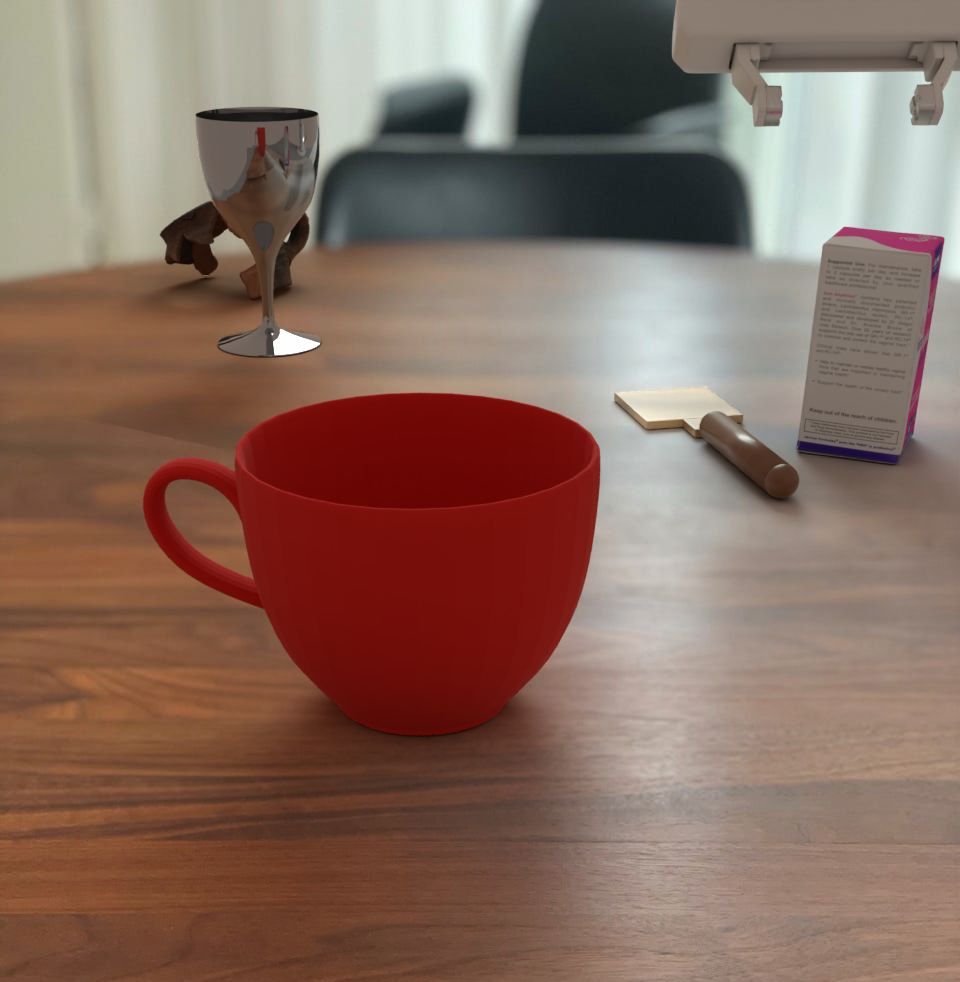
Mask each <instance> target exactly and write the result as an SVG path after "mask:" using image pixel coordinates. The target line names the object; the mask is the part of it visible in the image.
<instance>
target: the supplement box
mask: <svg viewBox="0 0 960 982" xmlns="http://www.w3.org/2000/svg"><path fill="white" fill-rule="evenodd" d="M944 245H945V237H944V236H940V235H932V234H924V233H912V232H910V233H909V232H900V231H889V230H880V229H871V228H863V227H855V226H854V227H853V226H843V227H841V228H840V229H839V231H837V232H835V234H833V235H832V236H831V237H830V238H829V239H828V240H827V241H826V242H824V243H823V244H822V246H821V256H820V264H819V272H818V277H817V278H818V279H817V288H816V294H815V303H814V309H813V310H814V311H813V317H812V318H813V319H812V327H811V333H810V334H811V336H810V342H809V351H808V356H807V357H808V358H807V364H806V365H807V366H806V375H805V382H804V391H803V397H802V405H801V413H800V421H799V427H798V434H797V442H796V446H795V451H797V452H801V453H807V454H814V455H821V456H831V457H837V458H847V459H851V460H859V461H865V462H866V461H867V462H874V463H882V464H891V465H895V464H899V462H900V459H901V456H902V454H903V452H904V450H905V448H906V446H907V445H908V443H909V441H910V440H911V439H912V437H913V435H914V431H915V425H916V419H917V412H918V407H919V400H920V395H921V394H920V393H921V388H922V383H923V377H924V371H925V364H926V358H927V351H928V345H929V339H930V333H931V325H932V319H933V314H934V313H933V312H934V308H935V301H936V295H937V289H938V281H939V275H940V270H941V263H942V257H943V252H944Z"/></svg>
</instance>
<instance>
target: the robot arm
mask: <svg viewBox="0 0 960 982" xmlns="http://www.w3.org/2000/svg"><path fill="white" fill-rule="evenodd" d="M671 36H672V37H671V58H672V59H671V60H672V61H673V62H674V63H675V64H676V65H677V66H678V67H679V68H680V69H681V71H683V72H684V73H687V74H731V85H732V86H733V87H734V88H735V89H736V91H737V92H738V93H739V94H740V96H742V97H743V99H744V100H745V101H746V102H747V103H748V105H749V106H751V108H752V122H753V127H754V128H759V127H760V128H763V127H765V128H767V127H779V126H780V125H781V118H782V117H783V112H784V111H783V110H784V101H783V100H782V97H783V90H782V89H783V88H782V85H769V84H768V83H767V82H766V80H765V78H764V77H763V76H762V74H775V73H776V74H777V73H778V74H780V73H781V74H783V73H785V74H786V73H789V74H791V73H792V74H795V73H797V74H798V73H891V72H892V73H899V72H900V73H904V72H906V73H908V72H912V73H914V72H917V73H919V72H923V76H924V81H925V82H926V83H925V84H916V85H915V89H914V91H913V94H914V95H913V96H912V97H911V99H910V102H909V104H908V106H909V113H910V115H911V118H910V123H911V125H912V126H923V127H924V126H938V125H939V123H940V120H941V118H942V116H943V113H944V107H945V102H944V94H943V93H944V92H943V91H944V90H945V88H946V86H947V84H948V83H949V81H950V79H951V75H952V73H953V72H960V0H676V2H675V8H674V15H673V25H672V35H671Z"/></svg>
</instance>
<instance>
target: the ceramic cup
mask: <svg viewBox="0 0 960 982" xmlns="http://www.w3.org/2000/svg"><path fill="white" fill-rule="evenodd" d="M234 451H235V453H234V470H233V469H231V468H230V467H227V466H225V465H224V464H221V463H219V462H217V461H214V460H210V459H207V458H202V457H194V456H193V457H192V456H190V457H188V456H187V457H186V456H185V457H178V458H175V459H171V460H169V461H167V462H165V463H163V464H162V465H161V466H159V467H158V468H157V469H156V470H155V471H154V472H153V474H151V476H150V478H149V479H148V481H147V483H146V485H145V487H144V492H143V497H142V511H143V517H144V520H145V523H146V525H147V529H148V530H149V532H150V534H151V537H152V539H154V541H155V543H156V544H157V546H158V547H159V548H160V550H161V551H162V552H163V553H164V555H165V556H166V557H167V558H168V559H169V560H170V561H171V562H172V563H173V564H174V565H175V566H176V567H177V568H179V569H180V570H181V571H183V572H184V573H185V574H186V575H188V576H190V577H191V578H192V579H194V580H196V581H197V582H199V583H200V584H203V585H204V586H206V587H208V588H210V589H212V590H214V591H217V592H219V593H221V594H223V595H225V596H228V597H230V598H233V599H235V600H238V601H241V602H243V603H245V604H249V605H251V606H254V607H257V608H259V609H262V610H264V612H265V614H266V616H267V618H268V621H269V623H270V624H271V627H272V628H273V631H274V633H275V635H276V637H277V639H278V641H279V643H280V644H281V646H282V648H283V649H284V651H285V652H286V653H287V655H288V656H289V658H290V659H291V660H292V662H293V663H294V664H295V666H297V667H298V669H299V670H300V671H301V672H302V673H303V674H304V675H305V677H307V679H308V680H309V681H311V682H312V684H314V686H316V687H317V688H318V689H319V691H321V692H322V693H323V694H324V695H325V696H326V697H327V698H329V699H330V700H331V701H332V702H333V703H335V704H336V705H337V706H338V708H339V710H340V711H342V713H343V714H345V716H346V717H347V718H349V719H350V720H353V721H354V722H356V723H357V724H360V725H361V726H364V727H366V728H369V729H371V730H375V731H379V732H384V733H387V734H388V733H389V734H396V735H401V736H402V735H403V736H419V735H420V736H419V737H421V736H422V737H423V736H439V735H447V734H452V733H457V732H461V731H465V730H469V729H473V728H475V727H477V726H479V725H482V724H485V723H487V721H490V720H491V719H492V718H495V717H496V716H497V715H498V714H499V713H501V711H502V710H503V709H505V707H506V705H507V703H508V702H509V701H510V700H511V699H512V698H513V697H515V696H516V695H517V694H518V693H519V692H520V691H521V690H522V689H523V688H524V687H526V685H527V684H528V683H530V681H531V680H533V678H534V677H535V676H536V675H537V674H538V673H539V672H540V671H541V670H542V668H543V667H544V665H546V663H547V662H548V661H549V659H550V658H551V657H552V655H553V654H554V652H555V650H556V649H557V647H558V646H559V644H560V642H561V640H562V638H563V636H564V635H565V633H566V631H567V629H568V627H569V625H570V623H571V621H572V619H573V617H574V614H575V612H576V611H577V607H578V604H579V601H580V599H581V596H582V593H583V589H584V586H585V583H586V579H587V576H588V575H587V574H588V571H589V566H590V563H591V562H590V561H591V555H592V550H593V545H594V539H595V532H596V523H597V518H598V517H597V516H598V508H599V499H600V488H601V449H600V445H599V444H598V442H597V440H596V438H595V437H594V436H593V434H592V433H591V432H590V431H589V430H587V429H586V428H585V427H584V426H582V425H581V424H580V423H579V422H577V421H575V420H573V419H571V418H570V417H567V416H565V415H563V414H562V413H559V412H556V411H553V410H549V409H547V408H544V407H540V406H538V405H533V404H528V403H524V402H520V401H516V400H511V399H504V398H498V397H492V396H486V395H475V394H466V393H465V394H463V393H452V392H397V393H379V394H370V395H369V394H368V395H357V396H351V397H344V398H338V399H331V400H326V401H321V402H318V403H317V402H316V403H312V404H308V405H304V406H300V407H296V408H294V409H291V410H288V411H284V412H282V413H279V414H276V415H274V416H272V417H270V418H268V419H266V420H264V421H261V422H260V423H257V424H256V425H254V426H253V427H252V428H251V429H250V430H248V431H247V432H246V433H244V434H243V436H242V437H241V438H240V440H239V441H238V443H237V444H236V446H235V450H234ZM179 480H189V481H194V482H198V483H202V484H205V485H207V486H210V487H211V488H213V489H215V490H216V491H218V492H219V493H220V494H221V495H223V496H224V497H225V498H226V499H227V500H228V501H229V503H230V504H231V505H232V507H233V508H234V510H235V511H236V513H237V515H238V518H239V521H240V522H241V526H242V531H243V537H244V542H245V547H246V548H245V549H246V553H247V558H248V562H249V566H250V570H251V574H252V577H250V576H246V575H244V574H241V573H239V572H237V571H234V570H232V569H230V568H228V567H226V566H224V565H222V564H220V563H219V562H216V561H214V560H213V559H210V558H209V557H208V556H206V555H204V554H203V553H202V552H200V551H199V550H198V549H196V548H195V547H194V546H193V545H192V544H191V543H190V542H189V541H188V540H187V538H185V537H184V536H183V534H182V533H181V532H180V531H179V529H178V527H177V526H176V524H175V523H174V522H173V519H172V518H171V516H170V514H169V511H168V508H167V503H166V491H167V489H168V486H169V485H170V483H173V482H175V481H179ZM432 734H434V735H432Z"/></svg>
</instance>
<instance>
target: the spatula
mask: <svg viewBox="0 0 960 982" xmlns="http://www.w3.org/2000/svg"><path fill="white" fill-rule="evenodd" d="M613 400H614V401H615V403H617V404H618V405H619V406H620V407H621V408H622V409H623V410H625V412H627V413H628V414H629V415H630V416H631V417H632V418H633V419H634V420H635V421H636V422H638V423H639V424H640V425H641V426H642V427H643V428H644V429H645V430H659V429H674V428H683V429H684V430H685V431H686V432H688V433H689V434H690V435H691V436H692V437H693V438H702V439H704V440H705V441H706V442H707V443H708V444H709V445H711V446H712V447H713V448H714V450H716V451H717V452H719V453H720V454H721V455H722V456H723V457H725V458H726V459H727V460H728V461H729V462H730V463H732V464H733V465H734V466H735V467H736V468H738V469H739V470H740V471H741V472H742V473H744V474H745V475H746V476H747V477H748V478H750V480H751V481H753V482H754V483H755V484H756V485H758V486H759V487H760V488H761V489H763V491H765V492H766V493H767V494H768V495H770V496H771V497H773V498H776V499H787V498H790V497H791V496H792V495H794V494H795V493H796V491H797V490H798V489H799V486H800V474H799V473H798V471H797V470H796V468H795V467H793V465H791V464H790V463H789V462H788V461H786V460H785V459H784V458H782V457H781V456H780V455H778V454H777V453H776V452H774V451H773V450H772V449H771V448H770V447H768V445H766V444H765V443H763V441H762V442H761V441H760V440H759V439H758V438H757V437H755V436H754V435H753V434H752V433H750V432H749V431H748V430H747V429H746V428H744V427H742V426H741V425H740V424H742V423H743V422H744V413H742V412H741V411H739V410H738V409H737V408H735V407H734V406H733V405H731V404H730V403H729V402H728V401H726V400H725V399H724V398H722V397H721V396H720V395H718V394H717V393H715V391H713V390H712V389H710V388H709V387H707V386H706V385H703V386H687V387H675V388H660V389H658V388H657V389H645V390H644V389H643V390H629V391H615V392H614V393H613ZM739 423H740V424H739Z"/></svg>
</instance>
